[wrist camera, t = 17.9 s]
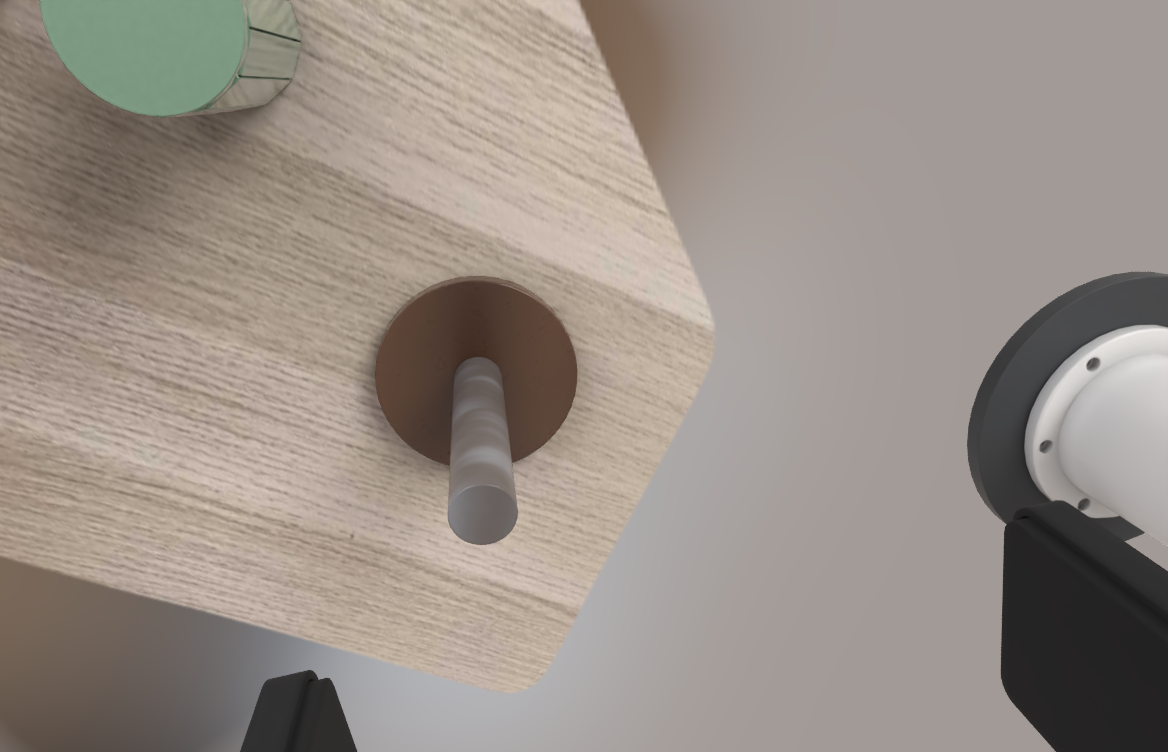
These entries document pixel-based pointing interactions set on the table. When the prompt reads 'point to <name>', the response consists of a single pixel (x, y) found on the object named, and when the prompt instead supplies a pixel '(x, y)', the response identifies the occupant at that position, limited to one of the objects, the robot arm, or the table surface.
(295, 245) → the table surface
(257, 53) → the green cup
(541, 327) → the towel stand
